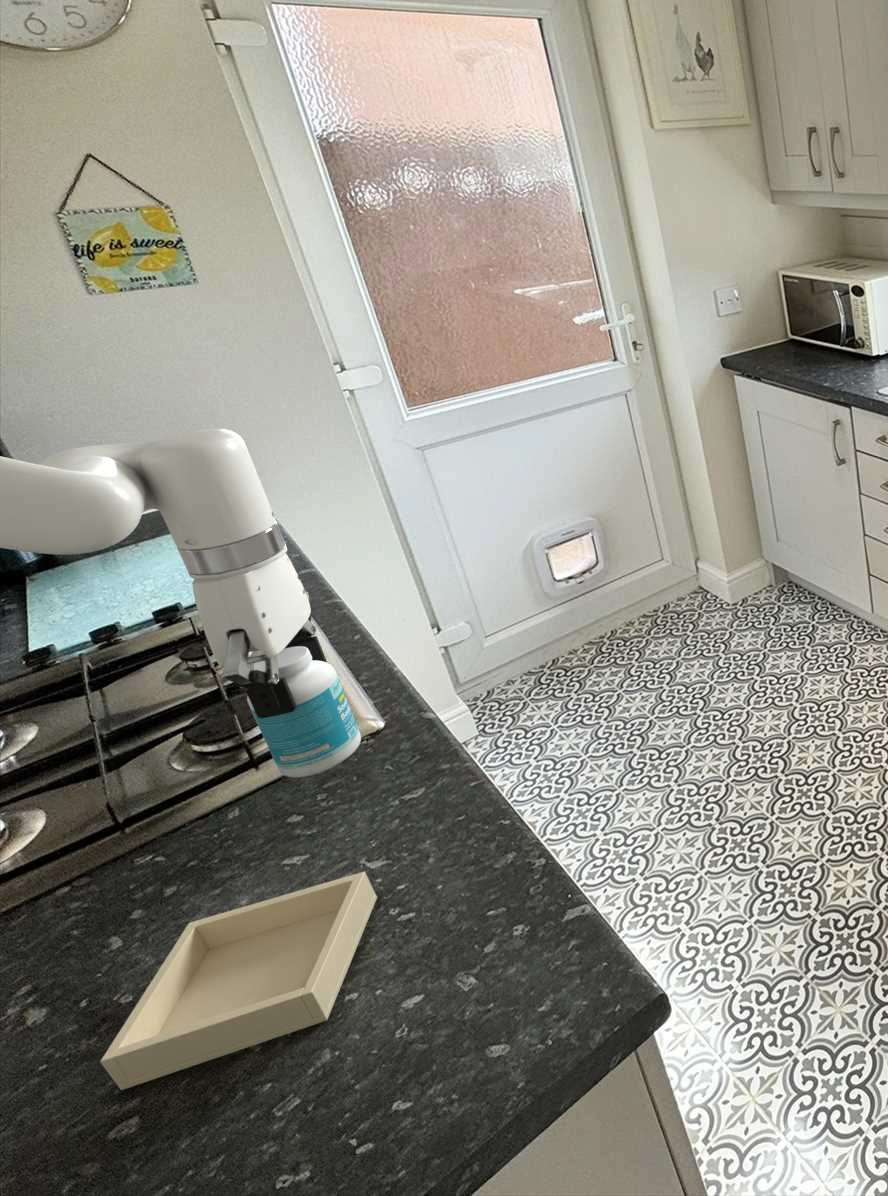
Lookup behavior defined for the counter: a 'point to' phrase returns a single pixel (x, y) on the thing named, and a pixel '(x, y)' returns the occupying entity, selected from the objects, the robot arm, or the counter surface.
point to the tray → (243, 980)
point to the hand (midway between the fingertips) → (294, 689)
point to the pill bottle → (309, 717)
